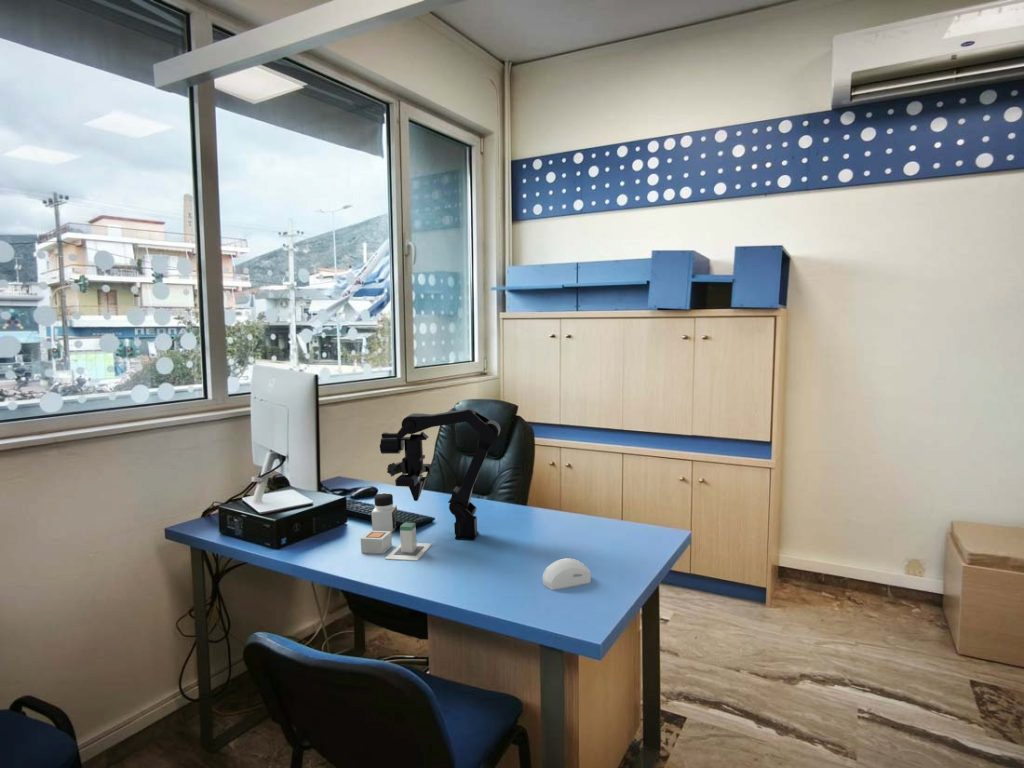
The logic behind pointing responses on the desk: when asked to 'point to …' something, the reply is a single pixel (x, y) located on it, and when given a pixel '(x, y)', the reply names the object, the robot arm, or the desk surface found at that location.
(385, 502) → the medicine bottle
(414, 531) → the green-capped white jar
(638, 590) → the desk surface
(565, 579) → the computer mouse
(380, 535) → the button
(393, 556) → the white grey rectangular pad
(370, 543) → the button housing
